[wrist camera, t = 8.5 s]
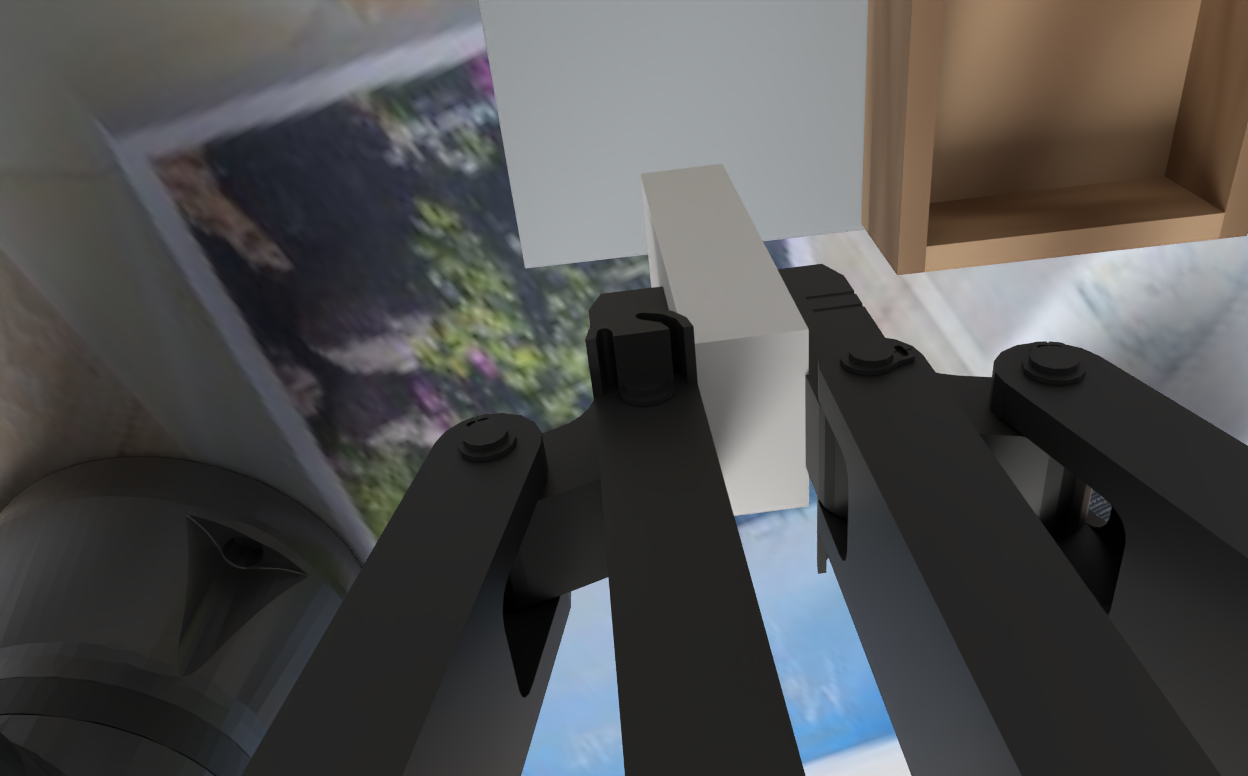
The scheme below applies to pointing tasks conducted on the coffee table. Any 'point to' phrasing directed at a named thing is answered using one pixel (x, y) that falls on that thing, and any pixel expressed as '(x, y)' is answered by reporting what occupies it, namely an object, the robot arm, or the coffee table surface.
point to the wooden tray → (1052, 128)
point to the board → (676, 113)
